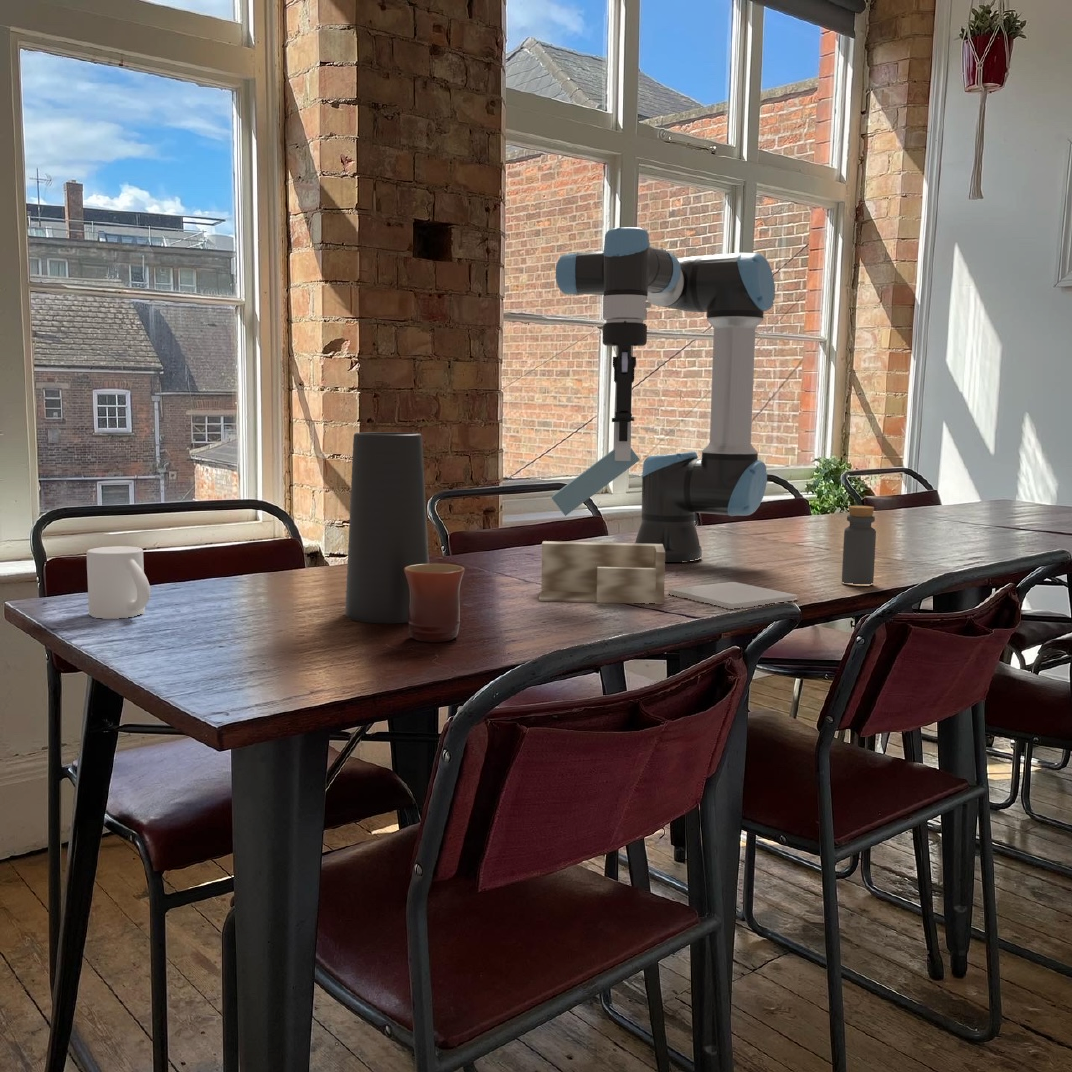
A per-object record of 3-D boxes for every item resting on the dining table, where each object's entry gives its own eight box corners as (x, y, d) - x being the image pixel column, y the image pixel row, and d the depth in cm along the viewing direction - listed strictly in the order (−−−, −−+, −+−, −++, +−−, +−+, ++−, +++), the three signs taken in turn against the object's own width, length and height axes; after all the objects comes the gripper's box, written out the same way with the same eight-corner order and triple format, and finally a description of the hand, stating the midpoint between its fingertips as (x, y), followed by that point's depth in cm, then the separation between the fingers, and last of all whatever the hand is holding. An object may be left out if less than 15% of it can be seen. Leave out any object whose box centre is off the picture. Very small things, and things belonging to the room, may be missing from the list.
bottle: (873, 583, 209) (877, 506, 207) (872, 588, 204) (876, 508, 202) (842, 581, 211) (846, 504, 209) (840, 585, 205) (844, 507, 204)
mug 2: (464, 644, 153) (465, 573, 152) (402, 645, 152) (402, 573, 151) (463, 626, 165) (463, 560, 163) (405, 627, 164) (405, 560, 163)
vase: (446, 611, 176) (447, 433, 173) (402, 627, 164) (401, 435, 160) (376, 603, 182) (375, 431, 178) (328, 618, 170) (325, 433, 166)
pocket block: (538, 601, 186) (539, 549, 185) (542, 590, 197) (543, 541, 195) (663, 604, 185) (665, 552, 184) (661, 593, 195) (662, 543, 194)
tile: (668, 594, 194) (668, 589, 194) (733, 586, 203) (733, 581, 203) (731, 609, 181) (731, 603, 181) (797, 600, 190) (797, 595, 189)
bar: (565, 516, 187) (551, 497, 187) (566, 513, 191) (552, 495, 191) (639, 460, 185) (625, 441, 184) (639, 458, 189) (625, 440, 188)
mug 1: (123, 544, 175) (168, 551, 168) (125, 607, 176) (170, 616, 169) (75, 549, 168) (120, 557, 161) (78, 615, 170) (122, 625, 163)
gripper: (648, 319, 175) (645, 463, 178) (645, 325, 192) (642, 456, 195) (602, 319, 175) (600, 462, 179) (603, 325, 192) (601, 456, 196)
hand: (622, 459), depth 187 cm, fingers closed on bar, 4 cm apart
